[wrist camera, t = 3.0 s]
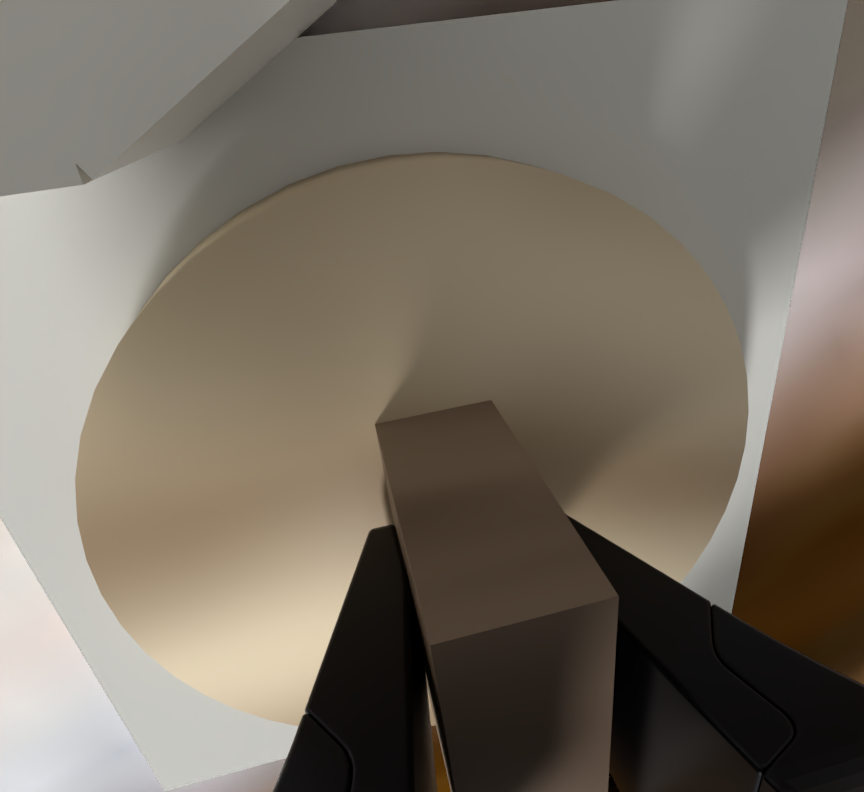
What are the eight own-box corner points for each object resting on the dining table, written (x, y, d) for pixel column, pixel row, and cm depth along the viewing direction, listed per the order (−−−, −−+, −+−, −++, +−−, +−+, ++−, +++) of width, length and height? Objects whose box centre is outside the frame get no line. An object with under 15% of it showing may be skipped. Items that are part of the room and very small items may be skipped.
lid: (679, 609, 14) (861, 852, 10) (214, 733, 13) (171, 1087, 8) (743, 103, 9) (1211, 114, 4) (-37, 217, 7) (-545, 410, 3)
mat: (712, 617, 16) (727, 635, 15) (169, 764, 14) (165, 791, 13) (819, -21, 9) (853, -28, 8) (-210, 100, 7) (-250, 100, 7)
